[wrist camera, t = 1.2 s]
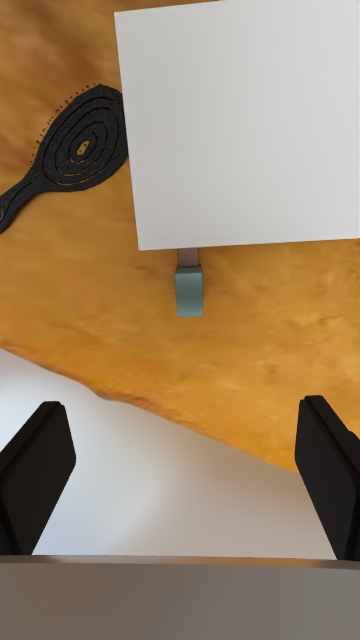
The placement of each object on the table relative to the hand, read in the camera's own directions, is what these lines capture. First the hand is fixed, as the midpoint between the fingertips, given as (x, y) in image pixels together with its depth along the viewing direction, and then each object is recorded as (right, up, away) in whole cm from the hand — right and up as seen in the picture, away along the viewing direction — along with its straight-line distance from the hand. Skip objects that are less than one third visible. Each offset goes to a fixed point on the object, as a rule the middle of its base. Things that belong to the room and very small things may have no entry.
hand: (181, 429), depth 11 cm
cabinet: (+6, +22, +22) cm, 32 cm away
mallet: (+1, +16, +25) cm, 29 cm away
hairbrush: (-16, +22, +24) cm, 36 cm away
